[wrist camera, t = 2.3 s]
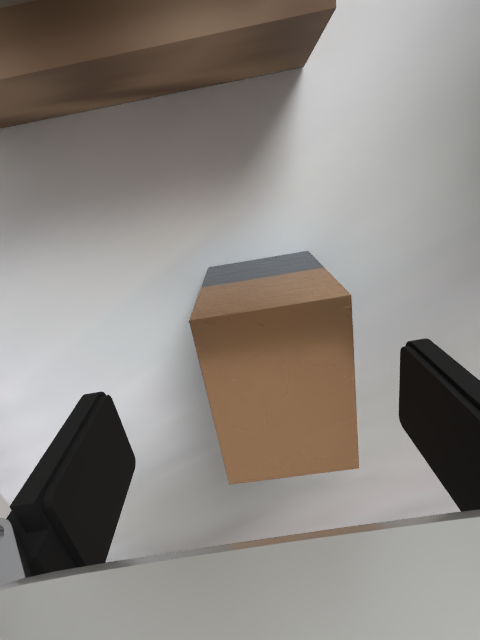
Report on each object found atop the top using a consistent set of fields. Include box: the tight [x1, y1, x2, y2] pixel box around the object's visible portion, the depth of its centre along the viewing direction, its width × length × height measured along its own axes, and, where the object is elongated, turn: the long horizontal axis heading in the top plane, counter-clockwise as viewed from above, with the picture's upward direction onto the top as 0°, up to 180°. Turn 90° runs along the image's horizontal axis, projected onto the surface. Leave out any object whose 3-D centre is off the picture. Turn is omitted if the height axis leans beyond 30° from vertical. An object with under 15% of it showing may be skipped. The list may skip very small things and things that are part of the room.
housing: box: [189, 251, 359, 484], centre depth 15 cm, size 5×7×7 cm
